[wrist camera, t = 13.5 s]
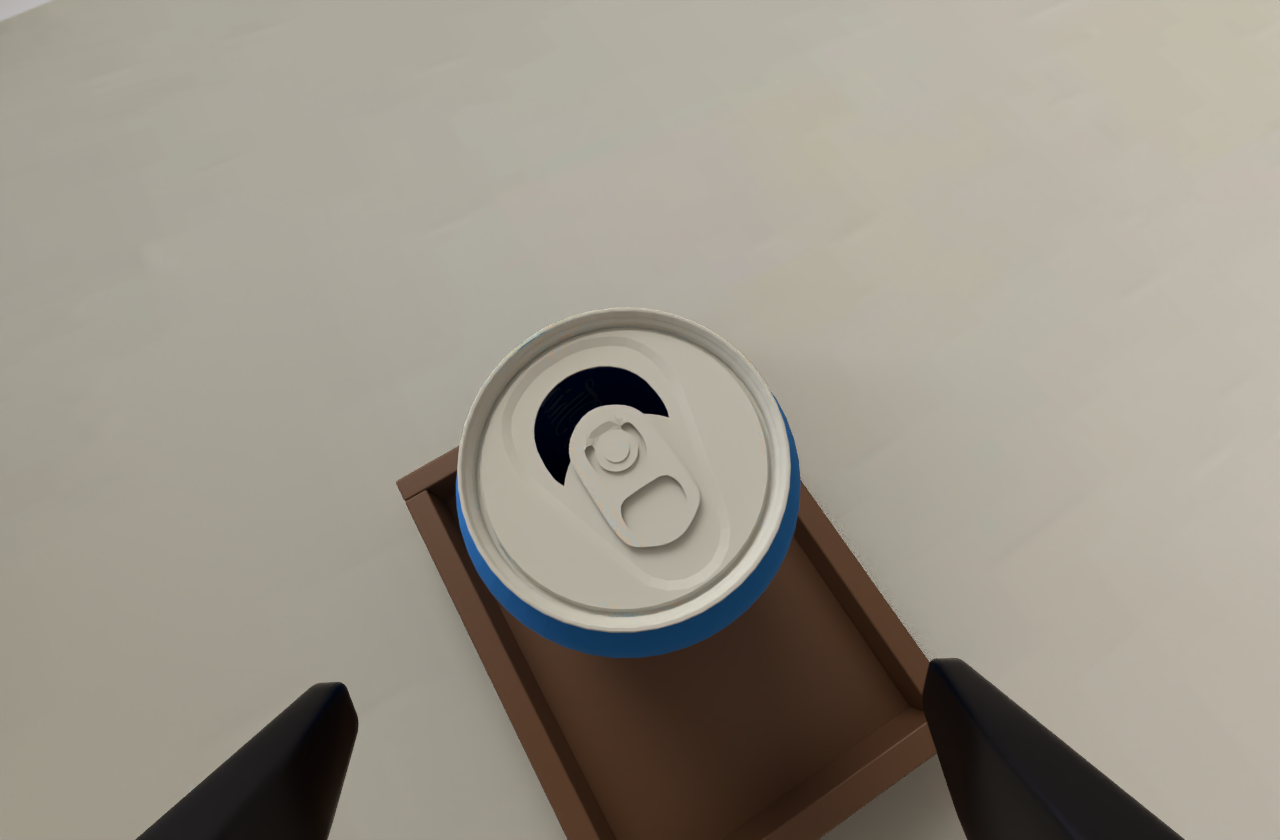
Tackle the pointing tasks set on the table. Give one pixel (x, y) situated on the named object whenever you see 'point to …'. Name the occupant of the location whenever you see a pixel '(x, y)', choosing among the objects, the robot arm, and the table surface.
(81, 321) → the table surface
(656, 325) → the beverage can
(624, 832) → the tray
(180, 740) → the table surface
